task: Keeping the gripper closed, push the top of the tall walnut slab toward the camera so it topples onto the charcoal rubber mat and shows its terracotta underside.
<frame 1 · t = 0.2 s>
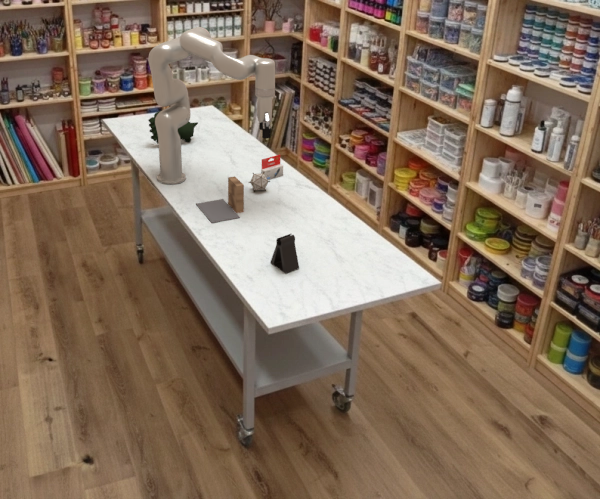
hand: (264, 133, 280), 30 cm above the table, tool pointing down, fingers open, 9 cm apart
toy figurine: (175, 144, 346), on the table
ink cartridge box: (272, 178, 316), on the table
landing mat: (217, 211, 284), on the table
walnut slab: (235, 207, 288), on the table
game die: (259, 190, 304), on the table
phone stand: (284, 266, 250), on the table
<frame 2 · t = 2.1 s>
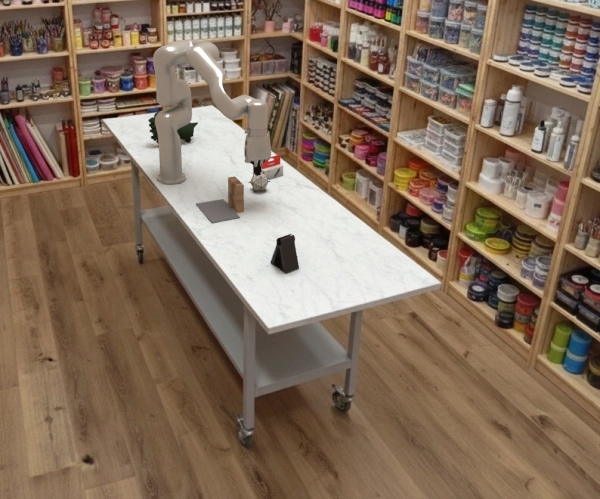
hand: (257, 174, 285), 14 cm above the table, tool pointing down, fingers closed
nothing on the table moved.
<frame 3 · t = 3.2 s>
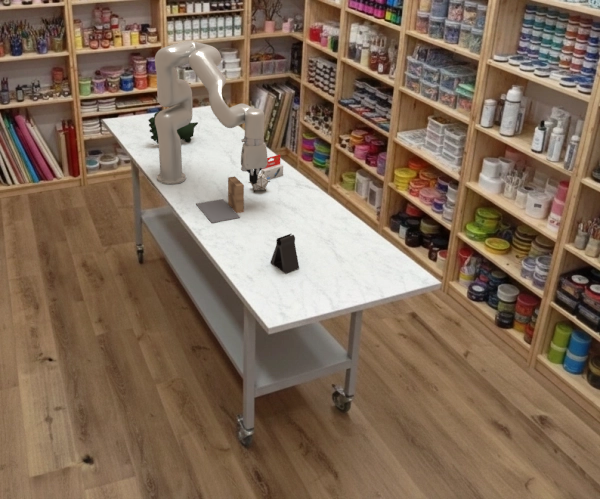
hand: (253, 182, 286), 10 cm above the table, tool pointing down, fingers closed
nothing on the table moved.
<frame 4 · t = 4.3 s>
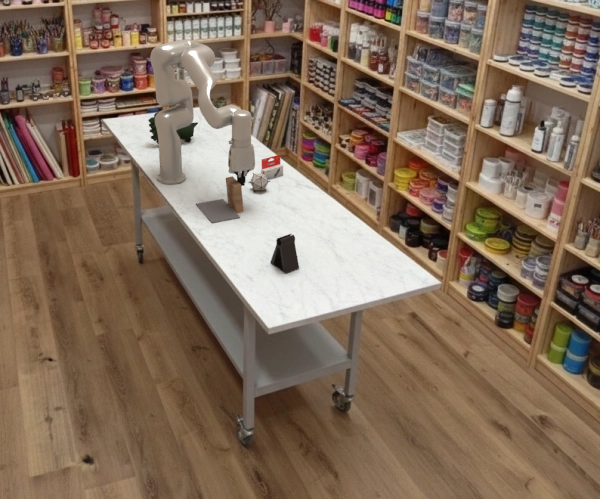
hand: (241, 184, 284), 10 cm above the table, tool pointing down, fingers closed
walnut slab: (235, 207, 288), on the table, tilted 5°, touching gripper
everything else where it was.
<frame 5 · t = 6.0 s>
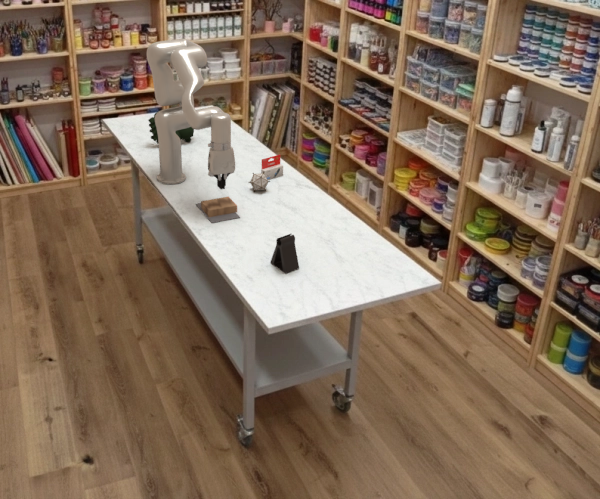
hand: (221, 187, 280), 10 cm above the table, tool pointing down, fingers closed
walnut slab: (232, 204, 286), point 2 cm above the table, tilted 90°, touching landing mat
everything else where it was.
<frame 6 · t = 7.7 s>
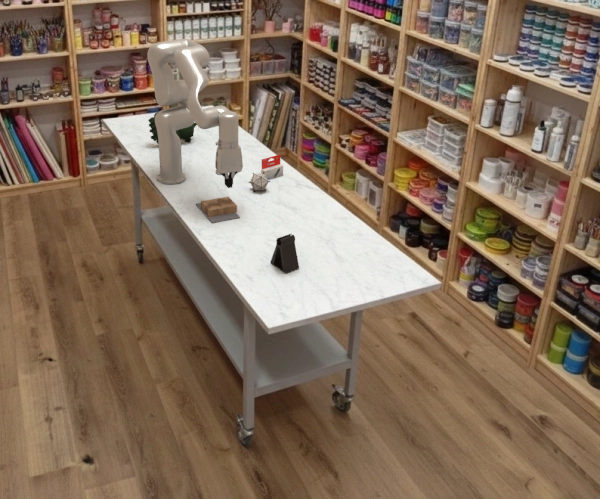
hand: (228, 186, 281), 10 cm above the table, tool pointing down, fingers closed
nothing on the table moved.
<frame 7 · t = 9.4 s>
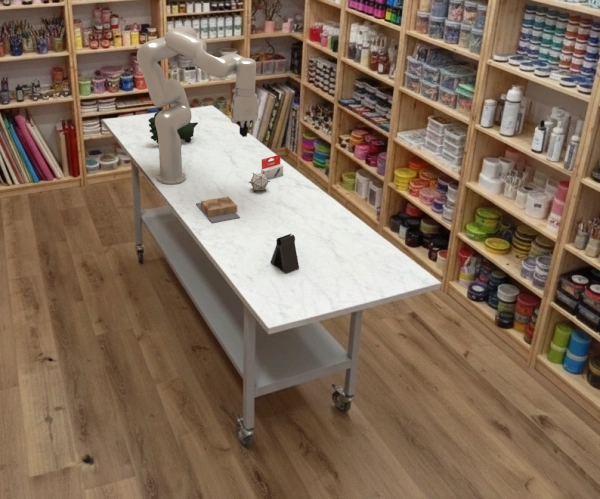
hand: (243, 135, 281), 28 cm above the table, tool pointing down, fingers closed
nothing on the table moved.
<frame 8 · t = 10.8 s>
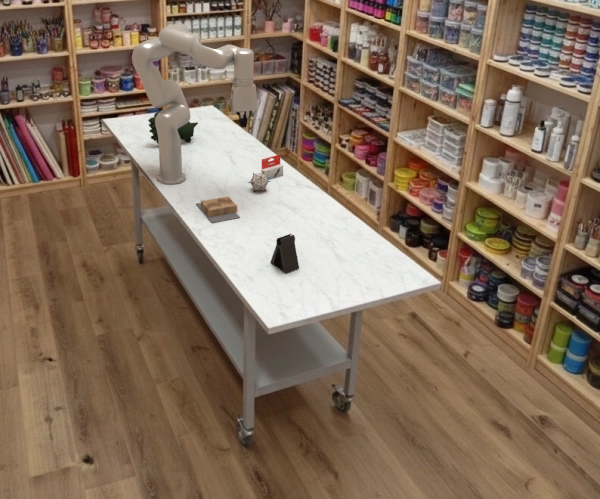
hand: (243, 126, 282), 31 cm above the table, tool pointing down, fingers closed
nothing on the table moved.
at the end: walnut slab tilted 90°; walnut slab inside the target area (0.4 cm from its centre), point 1.9 cm above the table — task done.
